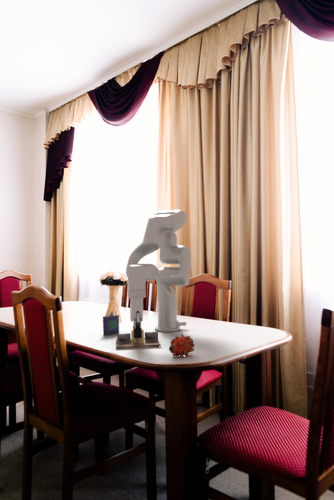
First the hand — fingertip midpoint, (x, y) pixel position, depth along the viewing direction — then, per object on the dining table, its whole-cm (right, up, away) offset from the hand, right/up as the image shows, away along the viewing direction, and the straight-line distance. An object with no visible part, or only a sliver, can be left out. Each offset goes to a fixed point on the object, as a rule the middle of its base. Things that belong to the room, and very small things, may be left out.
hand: (137, 336), depth 160 cm
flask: (-14, -4, +21) cm, 26 cm away
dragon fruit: (+18, -3, -20) cm, 27 cm away
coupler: (0, -2, 0) cm, 2 cm away
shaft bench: (0, -4, 0) cm, 4 cm away
